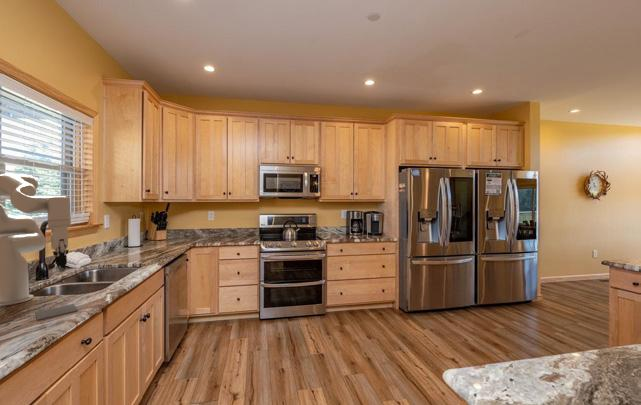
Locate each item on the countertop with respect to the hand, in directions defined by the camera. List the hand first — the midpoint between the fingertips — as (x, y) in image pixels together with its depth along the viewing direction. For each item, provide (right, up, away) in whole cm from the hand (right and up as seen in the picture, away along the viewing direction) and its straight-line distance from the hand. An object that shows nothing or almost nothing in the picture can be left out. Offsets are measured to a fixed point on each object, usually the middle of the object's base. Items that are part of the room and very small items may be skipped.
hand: (61, 263), depth 126 cm
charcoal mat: (+6, -18, -9) cm, 21 cm away
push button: (0, -3, 0) cm, 3 cm away
